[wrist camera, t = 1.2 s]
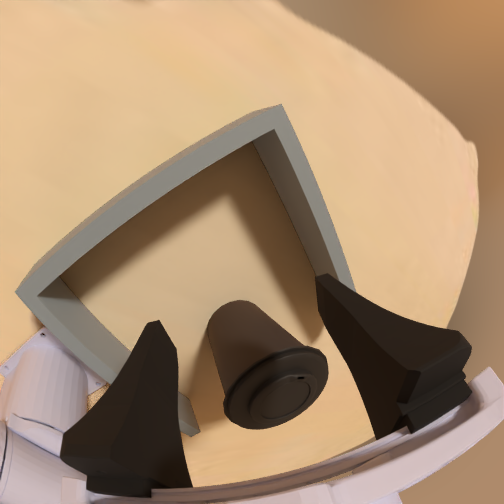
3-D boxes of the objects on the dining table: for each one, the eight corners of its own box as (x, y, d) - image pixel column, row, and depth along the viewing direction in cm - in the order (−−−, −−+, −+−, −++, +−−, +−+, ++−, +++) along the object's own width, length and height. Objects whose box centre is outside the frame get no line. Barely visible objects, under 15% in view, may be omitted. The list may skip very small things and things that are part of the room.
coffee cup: (269, 273, 25) (339, 336, 16) (279, 341, 28) (334, 407, 20) (180, 303, 23) (215, 391, 14) (205, 369, 26) (242, 450, 17)
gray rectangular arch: (180, 405, 26) (191, 437, 23) (33, 265, 17) (14, 292, 13) (336, 296, 29) (363, 316, 25) (253, 111, 20) (281, 104, 16)
